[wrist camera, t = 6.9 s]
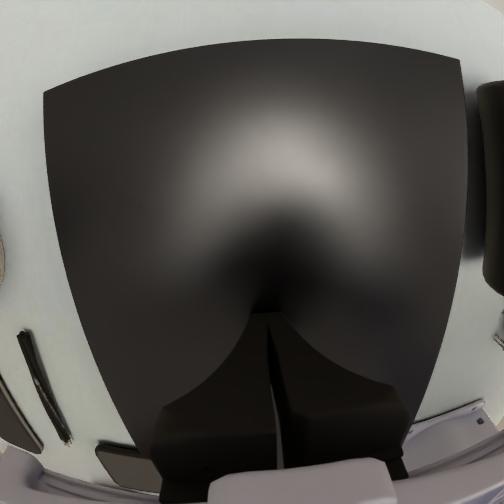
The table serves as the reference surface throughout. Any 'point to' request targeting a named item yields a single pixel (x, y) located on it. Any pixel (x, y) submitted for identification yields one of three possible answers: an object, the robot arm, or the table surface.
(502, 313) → the building frame
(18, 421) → the smartphone
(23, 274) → the table surface
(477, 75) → the table surface
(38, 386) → the black pen
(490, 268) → the end cap
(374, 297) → the laptop screen
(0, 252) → the cup
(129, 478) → the smartphone
